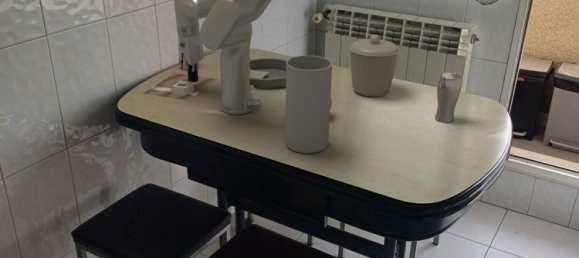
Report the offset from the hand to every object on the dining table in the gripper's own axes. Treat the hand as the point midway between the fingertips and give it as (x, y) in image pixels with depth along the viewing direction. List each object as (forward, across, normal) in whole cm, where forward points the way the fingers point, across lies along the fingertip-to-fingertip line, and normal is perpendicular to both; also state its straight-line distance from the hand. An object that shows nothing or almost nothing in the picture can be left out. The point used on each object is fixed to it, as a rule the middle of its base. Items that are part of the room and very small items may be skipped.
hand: (193, 81), depth 191 cm
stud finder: (+3, -4, +2) cm, 6 cm away
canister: (+7, +23, -59) cm, 64 cm away
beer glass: (+8, +7, -86) cm, 87 cm away
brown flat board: (+4, +1, +6) cm, 7 cm away
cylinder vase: (+7, -25, -49) cm, 56 cm away
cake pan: (+5, +23, -19) cm, 30 cm away
